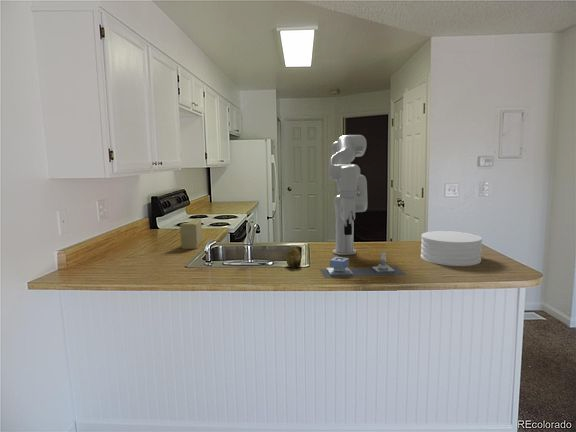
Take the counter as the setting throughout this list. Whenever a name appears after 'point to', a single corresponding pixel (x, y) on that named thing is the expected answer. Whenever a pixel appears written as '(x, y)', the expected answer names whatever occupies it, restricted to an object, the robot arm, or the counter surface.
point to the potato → (293, 258)
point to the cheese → (191, 234)
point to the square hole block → (339, 263)
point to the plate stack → (451, 248)
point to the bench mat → (364, 272)
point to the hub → (339, 271)
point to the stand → (383, 266)
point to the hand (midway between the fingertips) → (347, 234)
